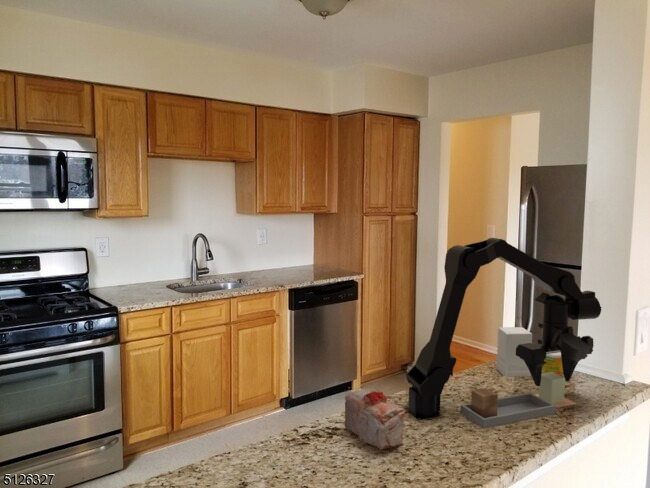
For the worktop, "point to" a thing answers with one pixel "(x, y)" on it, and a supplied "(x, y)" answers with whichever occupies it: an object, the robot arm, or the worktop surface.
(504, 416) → the bin
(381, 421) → the food item
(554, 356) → the supplement bottle
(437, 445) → the worktop surface
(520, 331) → the supplement box
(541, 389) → the sage block
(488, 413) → the walnut block
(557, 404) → the coaster
